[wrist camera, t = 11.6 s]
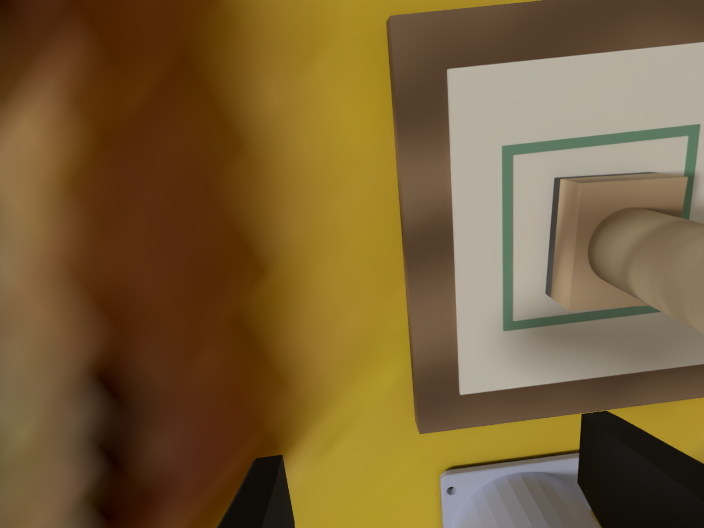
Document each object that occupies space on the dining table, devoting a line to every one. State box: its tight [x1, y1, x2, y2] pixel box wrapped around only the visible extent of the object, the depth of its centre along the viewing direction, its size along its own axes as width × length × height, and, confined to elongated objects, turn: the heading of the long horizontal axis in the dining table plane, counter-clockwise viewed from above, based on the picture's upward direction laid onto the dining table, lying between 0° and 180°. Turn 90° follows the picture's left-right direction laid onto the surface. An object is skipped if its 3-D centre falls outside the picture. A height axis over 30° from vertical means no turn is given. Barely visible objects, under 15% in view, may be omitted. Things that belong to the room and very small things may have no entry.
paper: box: [447, 42, 704, 395], centre depth 19 cm, size 14×12×1 cm
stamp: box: [545, 172, 704, 335], centre depth 16 cm, size 5×4×7 cm
